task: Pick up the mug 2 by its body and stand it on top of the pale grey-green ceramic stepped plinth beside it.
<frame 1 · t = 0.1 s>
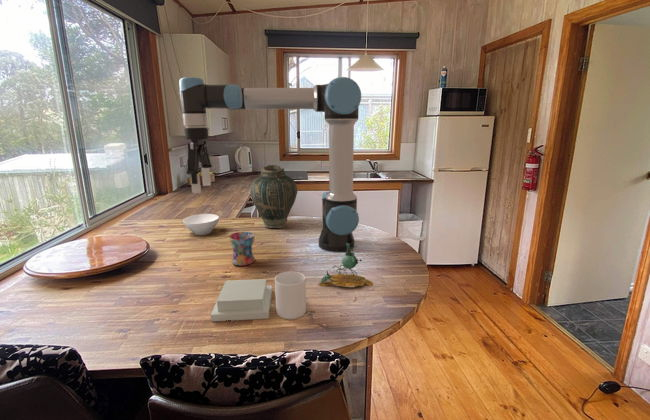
hand: (202, 189, 120), 28 cm above the table, fingers open, 13 cm apart
mug 2: (293, 308, 96), on the table
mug: (245, 261, 129), on the table
vase: (275, 226, 170), on the table
plinth: (244, 305, 98), on the table
bowl: (202, 233, 161), on the table
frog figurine: (345, 283, 111), on the table
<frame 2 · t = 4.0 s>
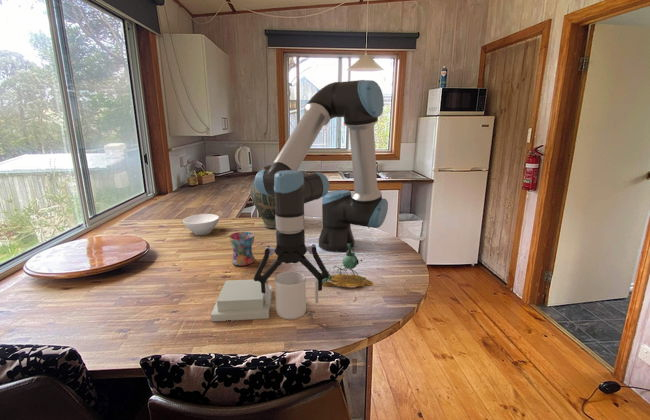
hand: (292, 301, 95), 2 cm above the table, fingers open, 13 cm apart
nothing on the table moved.
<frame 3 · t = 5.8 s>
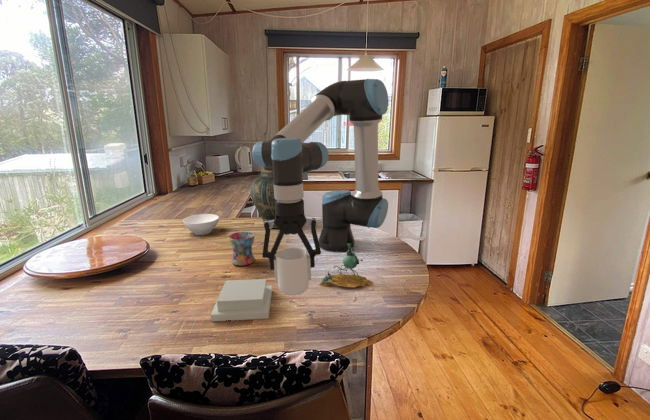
hand: (293, 278, 94), 9 cm above the table, fingers closed on mug 2, 8 cm apart
mug 2: (295, 285, 95), point 7 cm above the table, touching gripper
everything else where it was.
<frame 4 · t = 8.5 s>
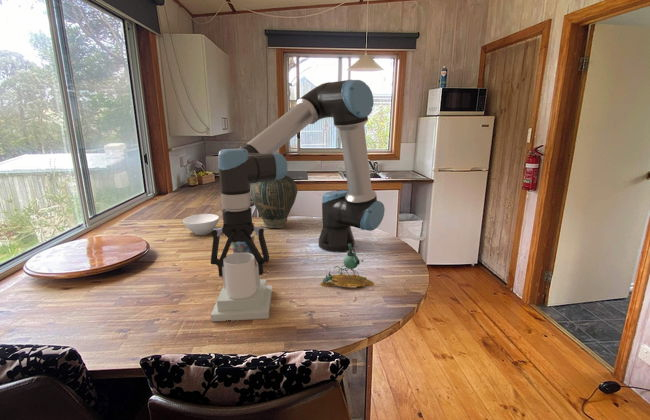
hand: (242, 285, 96), 6 cm above the table, fingers closed on mug 2, 8 cm apart
mug 2: (244, 289, 97), point 5 cm above the table, touching gripper, plinth
everything else where it was.
when the fingers open (6 cm above the table, at t = 8.9 s): mug 2 stays where it is, resting on plinth.
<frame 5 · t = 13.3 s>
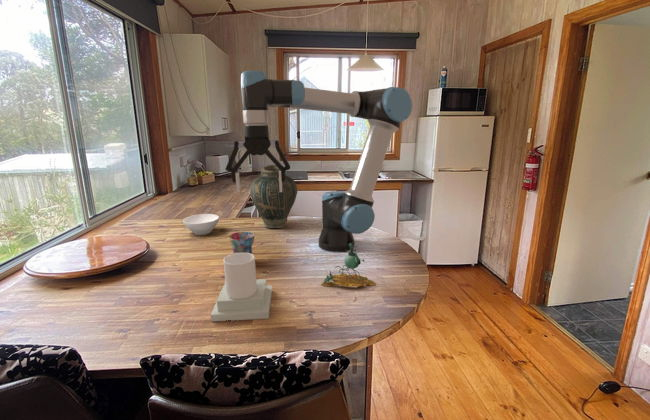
hand: (259, 192, 111), 29 cm above the table, fingers open, 13 cm apart
mug 2: (244, 289, 97), point 5 cm above the table, touching plinth
everything else where it was.
at the end: mug 2 inside the target area on the plinth (0.4 cm from its centre), point 4.8 cm above the plinth's base; mug 2 tilted 0°; the gripper is holding nothing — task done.
